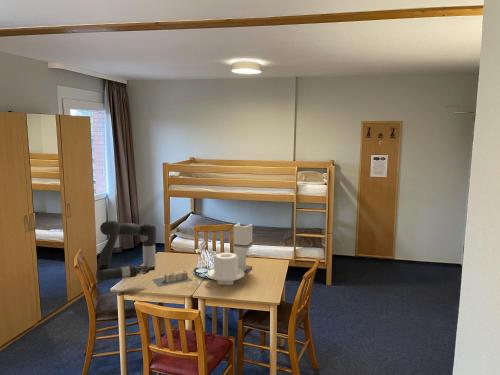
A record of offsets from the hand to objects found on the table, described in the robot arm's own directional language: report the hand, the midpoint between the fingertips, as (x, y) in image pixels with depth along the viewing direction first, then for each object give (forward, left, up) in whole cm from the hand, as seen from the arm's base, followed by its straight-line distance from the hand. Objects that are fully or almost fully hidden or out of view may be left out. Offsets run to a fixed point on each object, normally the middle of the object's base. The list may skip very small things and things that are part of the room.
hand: (154, 268), depth 269 cm
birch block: (0, +8, -8) cm, 11 cm away
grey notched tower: (+3, +66, -11) cm, 67 cm away
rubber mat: (0, +12, -11) cm, 17 cm away
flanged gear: (+20, +44, -11) cm, 50 cm away
